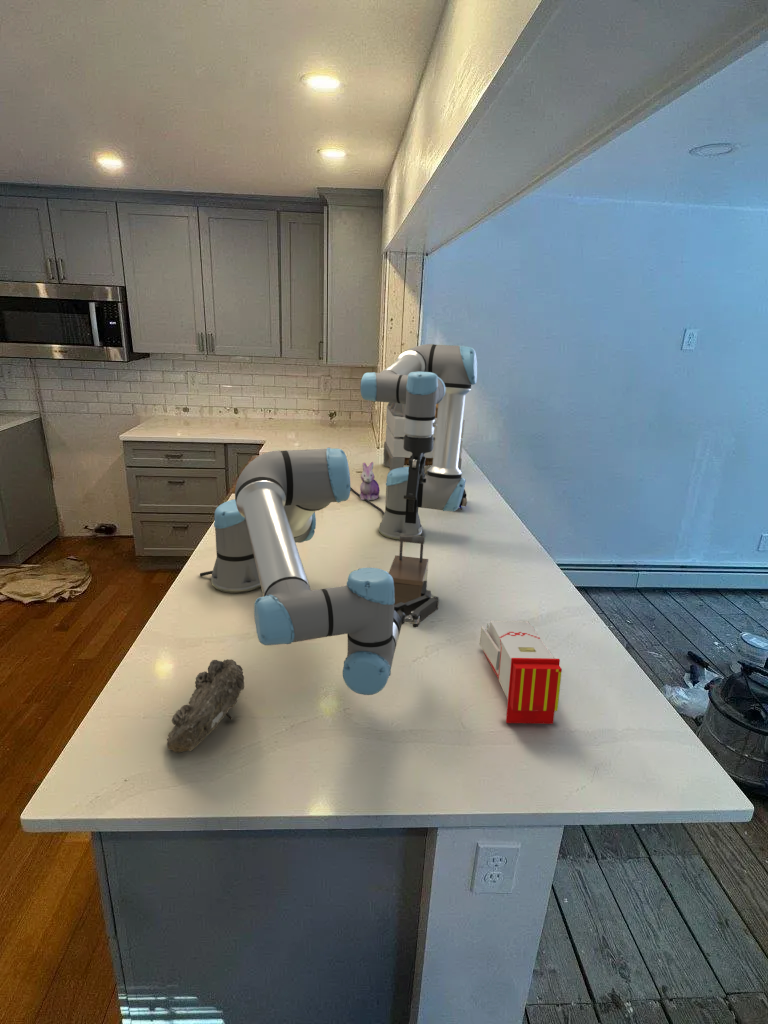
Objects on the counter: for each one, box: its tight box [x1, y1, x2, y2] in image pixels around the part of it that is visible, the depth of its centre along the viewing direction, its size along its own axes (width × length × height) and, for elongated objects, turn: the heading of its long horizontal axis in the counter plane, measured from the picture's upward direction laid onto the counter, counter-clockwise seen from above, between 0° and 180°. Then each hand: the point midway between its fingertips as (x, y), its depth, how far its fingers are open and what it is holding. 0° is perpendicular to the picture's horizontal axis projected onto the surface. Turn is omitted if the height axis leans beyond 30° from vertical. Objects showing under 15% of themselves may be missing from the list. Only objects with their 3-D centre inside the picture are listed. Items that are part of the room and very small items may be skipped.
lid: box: [388, 534, 429, 586], centre depth 150 cm, size 14×9×9 cm, turn 170°
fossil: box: [166, 658, 245, 754], centre depth 106 cm, size 22×10×15 cm
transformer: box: [383, 402, 465, 472], centre depth 268 cm, size 34×33×41 cm
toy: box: [478, 620, 563, 725], centre depth 121 cm, size 12×13×30 cm
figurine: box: [359, 461, 381, 501], centre depth 233 cm, size 9×10×15 cm
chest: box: [394, 565, 429, 605], centre depth 153 cm, size 14×9×9 cm
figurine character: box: [459, 488, 468, 511], centre depth 230 cm, size 7×8×15 cm
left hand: (394, 584), depth 124 cm, fingers open, 13 cm apart
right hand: (413, 514), depth 150 cm, fingers open, 13 cm apart
